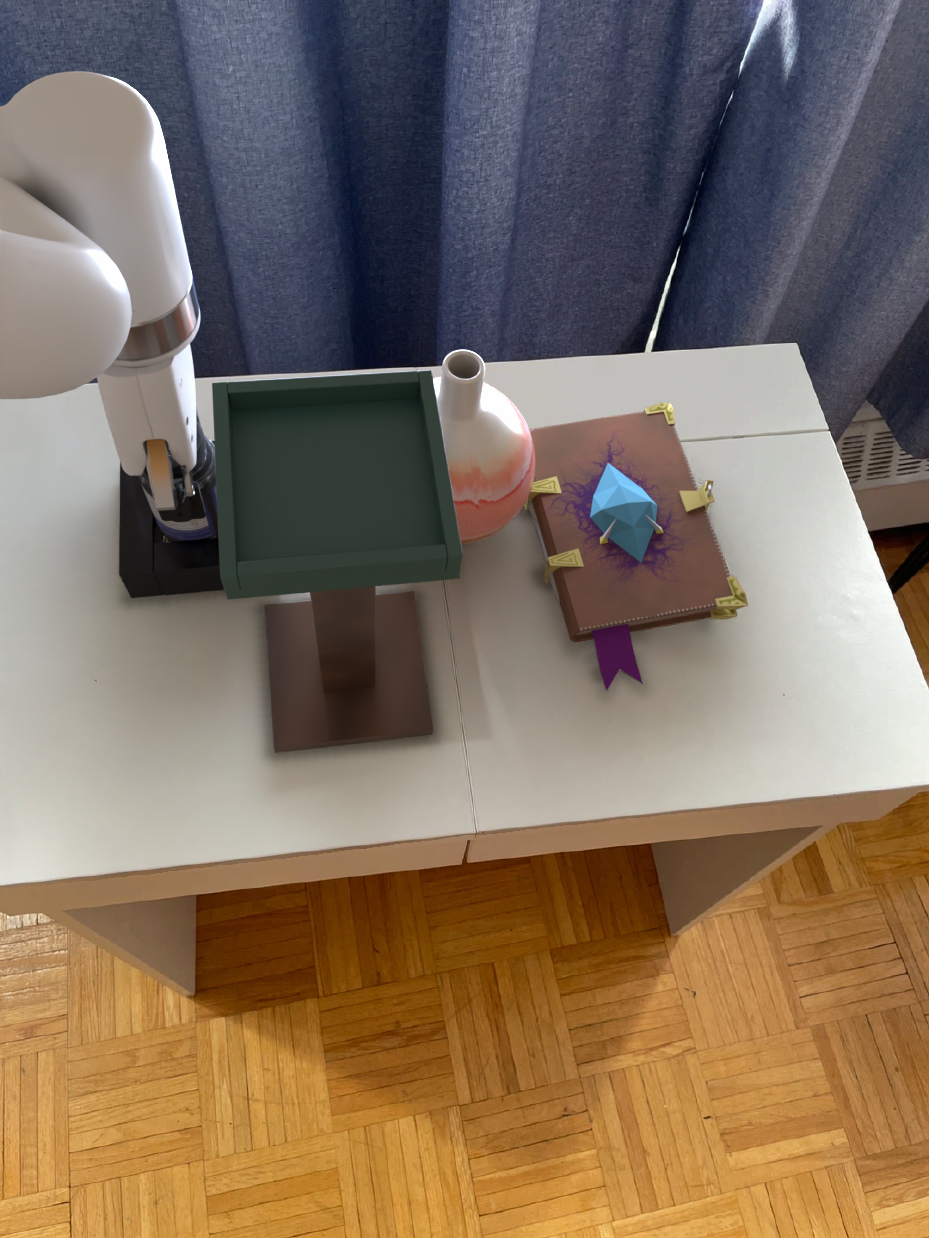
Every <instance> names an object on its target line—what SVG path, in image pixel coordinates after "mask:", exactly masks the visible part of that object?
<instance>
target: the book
mask: <svg viewBox="0 0 929 1238" xmlns="http://www.w3.org/2000/svg"><path fill="white" fill-rule="evenodd" d="M675 425H676V417H675V409H674V407H673V406H672V404H671V403H670V402H659V403H655V404H653V405H650V406H647V407H645V408H644V410H641V411H634V412H628V413H621V414H616V415H609V416H602V417H597V418H596V417H595V418H591V419H584V420H577V421H571V422H564V423H558V424H557V423H556V424H551V425H546V426H538V427H533V428H529V430H530V433H531V436H532V440H533V444H534V450H535V474H534V481H533V484H532V488H531V491H530V494H529V496H528V498H527V500H526V502H525V504H524V506H523V507H524V510H525V512H530V514H531V518H532V521H533V524H534V527H535V530H536V536H537V538H538V543H539V545H540V549H541V553H542V557H543V560H544V564H545V569H544V573H543V577H544V580H545V583H546V584H550V585H551V588H552V592H553V595H554V598H555V601H556V603H557V605H558V608H559V610H560V611H561V613H562V617H563V621H564V624H565V627H566V631H567V634H568V638H569V640H570V641H571V642H573V643H575V644H578V643H584V642H589V641H593V642H594V649H595V653H596V658H597V663H598V667H599V670H600V675H601V678H602V681H603V685H604V688H605V691H606V692H608V691H609V688H610V687H611V685H612V683H613V681H614V680H615V678H616V676H617V674H618V673H619V671H621V672H623V673H624V674H626V675H628V676H629V677H630V678H632V679H633V680H635V681H637V682H638V683H640V684H641V685H644V683H643V679H642V676H641V673H640V670H639V667H638V662H637V659H636V655H635V650H634V646H633V640H632V635H631V634H632V633H639V632H643V631H649V630H653V629H659V628H664V627H670V626H675V625H676V626H677V625H681V624H686V623H693V622H697V621H703V620H707V619H708V620H709V619H710V620H730V619H732V618H733V619H734V618H737V617H738V615H739V614H738V611H737V610H739V609H743V608H746V607H748V606H749V604H748V603H749V602H748V598H747V594H746V592H745V589H744V588H743V587H742V585H741V583H740V582H739V580H738V579H737V577H736V575H731V573H730V569H729V568H728V564H727V562H726V559H725V557H724V554H723V552H722V548H721V546H720V543H719V541H718V538H717V536H716V533H715V530H714V527H713V525H712V522H711V520H710V517H709V513H708V509H709V505H710V504H713V503H716V500H715V498H714V497H715V496H714V495H713V492H712V489H713V487H714V482H715V481H714V480H709V479H707V480H706V481H705V483H704V484H701V485H700V486H699V488H698V485H697V482H696V480H695V476H694V474H693V470H692V469H691V466H690V463H689V461H688V458H687V456H686V453H685V450H684V448H683V447H684V446H683V445H682V442H681V440H680V436H679V433H678V431H677V429H676V426H675Z"/></svg>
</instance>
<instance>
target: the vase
mask: <svg viewBox="0 0 929 1238" xmlns="http://www.w3.org/2000/svg"><path fill="white" fill-rule="evenodd" d="M485 375H486V365H485V362H484V360H483V358H482V357H481V356H480V355H479V354H477V353H476V352H474V351H473V350H472V351H471V350H469V349H457V350H453V351H451V352H449V353H448V354H447V355H446V356H445V357H444V359H443V361H442V364H441V371H440V376H436V377H433V380H434V385H435V391H436V397H437V403H438V409H439V415H440V421H441V427H442V433H443V439H444V445H445V451H446V457H447V463H448V468H449V474H450V480H451V486H452V492H453V498H454V504H455V510H456V516H457V522H458V528H459V534H460V540H461V546H462V545H467V544H468V545H469V544H473V543H477V542H480V541H484V540H485V539H487V538H489V537H492V536H495V535H496V534H497V533H498V532H500V531H503V530H504V529H505V528H506V527H507V526H508V525H509V524H510V523H511V522H512V521H513V520H514V519H516V517H517V516H518V515H519V513H520V512H521V510H522V509H523V507H525V506H524V504H525V502H526V500H527V498H528V496H529V494H530V491H531V488H532V484H533V481H534V474H535V450H534V444H533V440H532V436H531V433H530V430H529V429H530V427H529V426H528V423H527V421H526V419H525V417H524V416H523V414H522V413H521V412H520V410H519V409H518V407H517V406H516V404H514V403H513V401H511V400H510V398H509V397H508V396H506V395H505V394H504V393H502V392H501V391H500V390H498V389H497V388H496V387H493V386H492V385H490V384H488V383H486V382H485V378H486V377H485Z"/></svg>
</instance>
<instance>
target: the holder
mask: <svg viewBox="0 0 929 1238" xmlns="http://www.w3.org/2000/svg"><path fill="white" fill-rule="evenodd" d="M211 441H212V442H213V443H214V445H215V442H214V440H211ZM118 515H119V516H118V517H119V520H118V521H119V522H118V523H119V525H118V529H119V531H118V576H119V578H120V580H121V582H122V583H123V586H124V588H125V589H126V591H127V593H128V595H129V597H130V599H141V598H152V597H162V596H174V595H185V594H186V595H187V594H196V593H197V594H198V593H209V592H219V591H225V590H224V587H223V584H222V581H221V577H220V559H219V538H212V539H200V540H187V541H175V542H170V541H165V542H164V536H163V534H162V533H161V531H160V529H159V527H158V524H157V522H156V519H155V517H154V515H153V512H152V510H151V507H150V505H149V502H148V499H147V497H146V494H145V492H144V490H143V487H142V485H141V482H140V480H139V477H138V476H130V475H128V474H127V473H126V472H125V471H124V470H123V468H122V466H121V463H120V462H119V514H118Z"/></svg>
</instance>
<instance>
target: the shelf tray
mask: <svg viewBox="0 0 929 1238" xmlns="http://www.w3.org/2000/svg"><path fill="white" fill-rule="evenodd" d="M433 378H434V374H433V371H432V369H425V370H423V369H421V370H404V371H403V370H402V371H387V372H385V371H384V372H370V373H354V374H353V373H352V374H338V375H337V374H335V375H320V376H304V377H285V378H270V379H269V378H267V379H253V380H236V381H215V382H212V383H211V392H212V394H211V395H212V414H213V438H214V440H213V441H214V442H215V465H216V489H217V512H218V536H219V559H220V577H221V581H222V584H223V587H224V590H223V591H224V593H225V596H226V599H227V600H228V601H229V600H241V599H253V598H264V597H265V598H266V597H274V596H283V595H284V596H286V595H297V594H307V593H309V594H310V592H320V591H331V590H342V589H353V588H364V587H375V586H376V587H384V586H385V587H386V586H395V585H406V584H417V583H418V584H419V583H428V582H429V583H430V582H439V581H451V580H459V579H460V577H461V573H462V572H461V571H462V565H463V558H464V553H463V546H462V545H461V540H460V534H459V528H458V522H457V516H456V510H455V504H454V498H453V492H452V486H451V480H450V474H449V468H448V463H447V457H446V451H445V445H444V439H443V433H442V427H441V421H440V415H439V409H438V403H437V397H436V391H435V385H434V380H433Z"/></svg>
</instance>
